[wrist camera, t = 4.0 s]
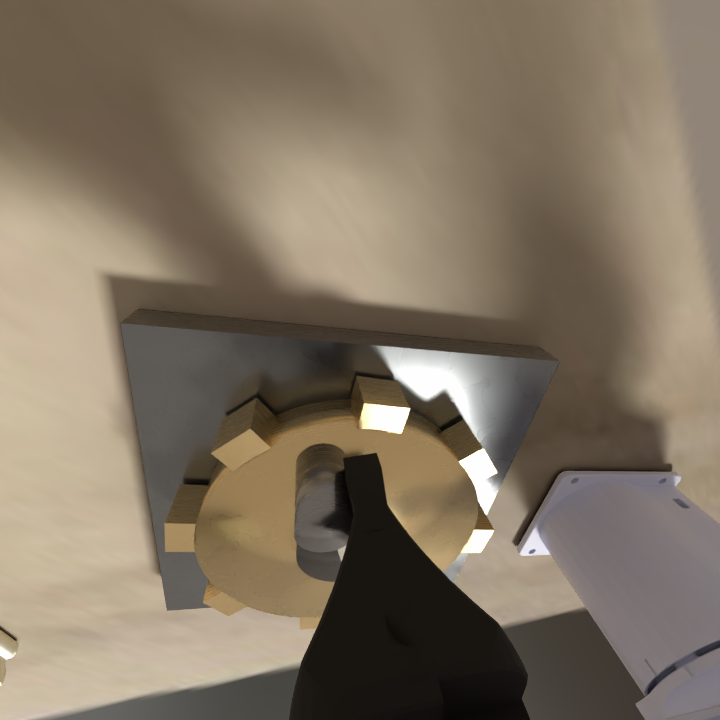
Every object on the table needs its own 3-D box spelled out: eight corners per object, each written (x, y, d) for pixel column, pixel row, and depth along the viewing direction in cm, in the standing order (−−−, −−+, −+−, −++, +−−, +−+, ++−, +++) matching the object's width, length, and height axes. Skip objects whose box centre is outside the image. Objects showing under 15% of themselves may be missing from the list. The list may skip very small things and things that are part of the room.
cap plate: (539, 347, 17) (559, 361, 15) (442, 568, 25) (450, 590, 23) (138, 309, 13) (120, 323, 12) (175, 583, 21) (166, 610, 20)
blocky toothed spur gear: (475, 553, 21) (520, 648, 17) (244, 611, 21) (228, 727, 16) (478, 349, 14) (556, 422, 10) (125, 425, 13) (39, 543, 9)
